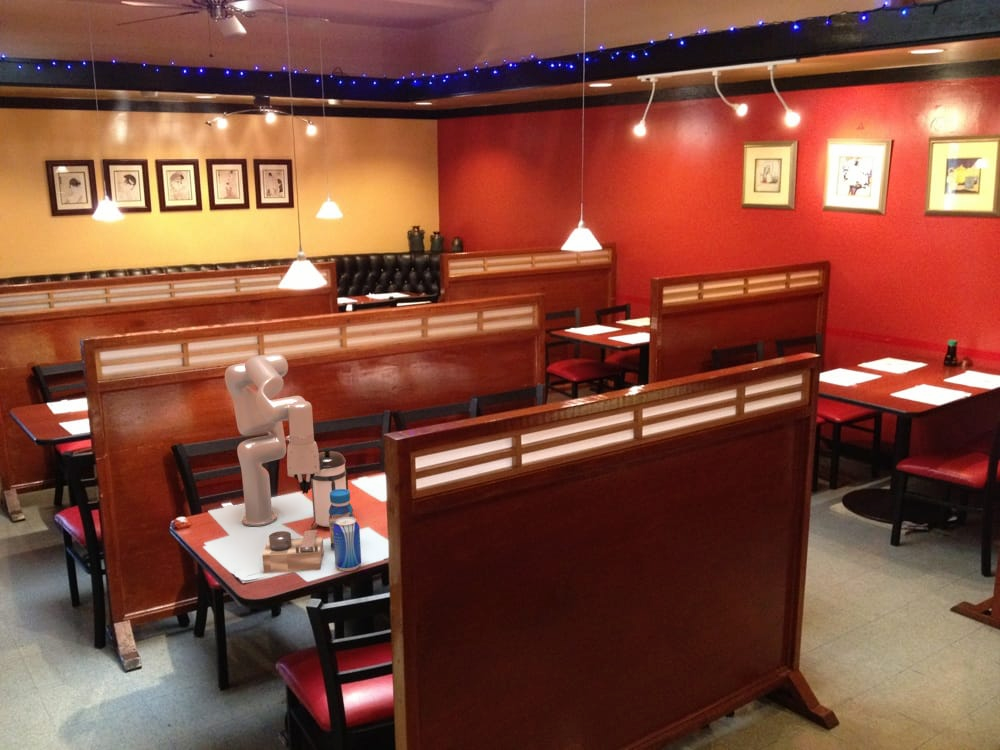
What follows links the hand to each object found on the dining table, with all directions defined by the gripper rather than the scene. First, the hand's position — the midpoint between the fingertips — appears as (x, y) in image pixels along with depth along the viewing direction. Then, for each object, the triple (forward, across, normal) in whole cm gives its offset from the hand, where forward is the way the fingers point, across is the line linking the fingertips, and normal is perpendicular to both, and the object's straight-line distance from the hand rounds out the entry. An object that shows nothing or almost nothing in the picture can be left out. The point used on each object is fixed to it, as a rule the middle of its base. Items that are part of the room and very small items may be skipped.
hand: (305, 492), depth 278 cm
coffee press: (+23, +5, +28) cm, 37 cm away
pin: (+22, -8, -4) cm, 24 cm away
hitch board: (+23, -4, -4) cm, 24 cm away
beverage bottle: (+23, +10, +6) cm, 26 cm away
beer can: (+23, +14, -10) cm, 28 cm away
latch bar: (+17, +1, -3) cm, 17 cm away
